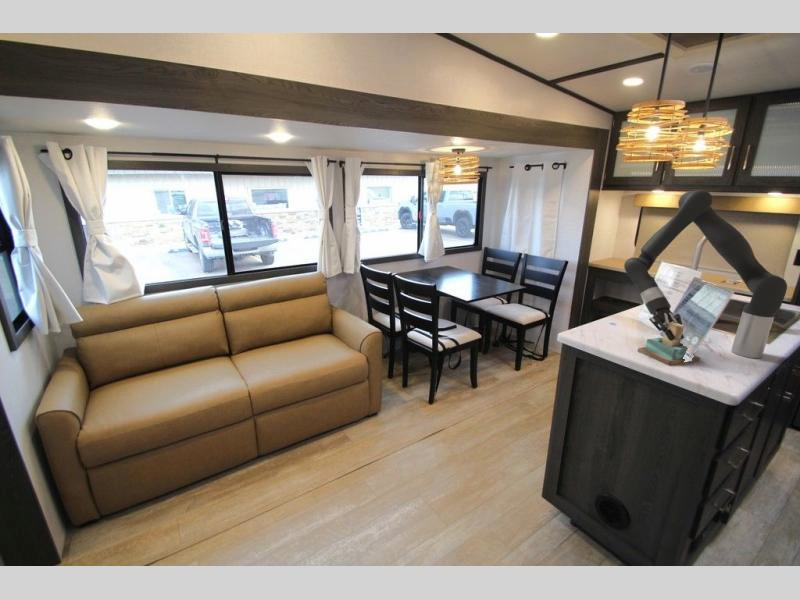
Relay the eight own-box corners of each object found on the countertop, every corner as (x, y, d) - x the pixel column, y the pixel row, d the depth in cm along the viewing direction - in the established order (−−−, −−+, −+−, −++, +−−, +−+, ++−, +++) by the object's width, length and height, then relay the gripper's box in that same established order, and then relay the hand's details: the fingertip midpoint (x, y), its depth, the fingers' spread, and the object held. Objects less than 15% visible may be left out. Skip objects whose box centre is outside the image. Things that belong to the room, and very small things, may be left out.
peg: (668, 345, 147) (674, 322, 145) (678, 349, 144) (684, 325, 141) (660, 346, 146) (666, 322, 143) (670, 350, 143) (676, 326, 140)
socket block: (667, 347, 154) (670, 335, 153) (699, 360, 142) (702, 347, 141) (637, 351, 150) (640, 338, 148) (668, 365, 138) (671, 351, 136)
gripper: (649, 296, 145) (671, 336, 137) (675, 295, 149) (699, 333, 141) (634, 305, 151) (655, 344, 143) (660, 304, 155) (682, 341, 147)
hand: (677, 339), depth 142 cm, fingers closed on peg, 3 cm apart
